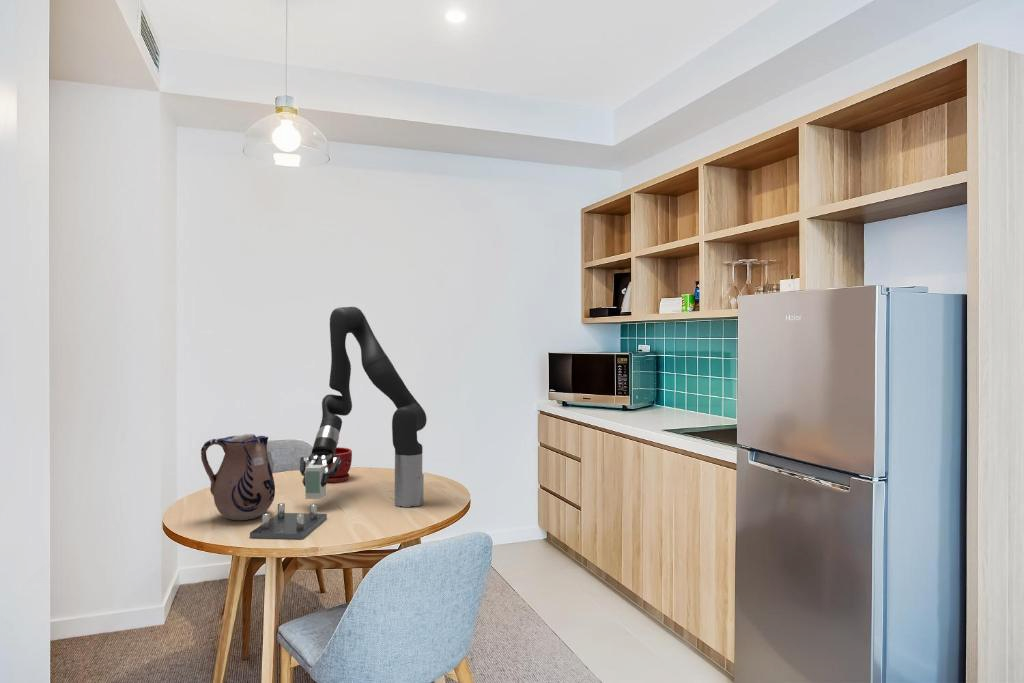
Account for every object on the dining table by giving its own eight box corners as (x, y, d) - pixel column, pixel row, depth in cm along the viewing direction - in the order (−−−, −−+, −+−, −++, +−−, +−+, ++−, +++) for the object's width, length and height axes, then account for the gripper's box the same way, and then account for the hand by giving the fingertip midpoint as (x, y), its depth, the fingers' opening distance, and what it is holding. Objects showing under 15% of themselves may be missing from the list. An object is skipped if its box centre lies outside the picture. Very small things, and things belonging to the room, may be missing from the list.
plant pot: (310, 481, 245) (310, 450, 245) (336, 475, 256) (337, 446, 256) (332, 486, 238) (332, 454, 238) (358, 479, 249) (359, 449, 249)
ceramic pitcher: (279, 520, 193) (279, 438, 193) (202, 530, 183) (203, 444, 183) (270, 506, 209) (270, 431, 208) (199, 515, 198) (199, 435, 198)
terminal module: (326, 495, 208) (325, 464, 208) (320, 499, 203) (320, 468, 203) (311, 495, 208) (310, 464, 208) (305, 499, 203) (304, 468, 203)
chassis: (326, 518, 195) (326, 501, 195) (302, 539, 175) (302, 519, 175) (279, 517, 196) (279, 499, 196) (249, 538, 176) (249, 518, 176)
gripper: (302, 435, 214) (288, 479, 202) (344, 435, 213) (332, 479, 201) (308, 448, 219) (295, 491, 207) (349, 448, 218) (338, 491, 206)
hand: (313, 485), depth 204 cm, fingers closed on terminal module, 5 cm apart
